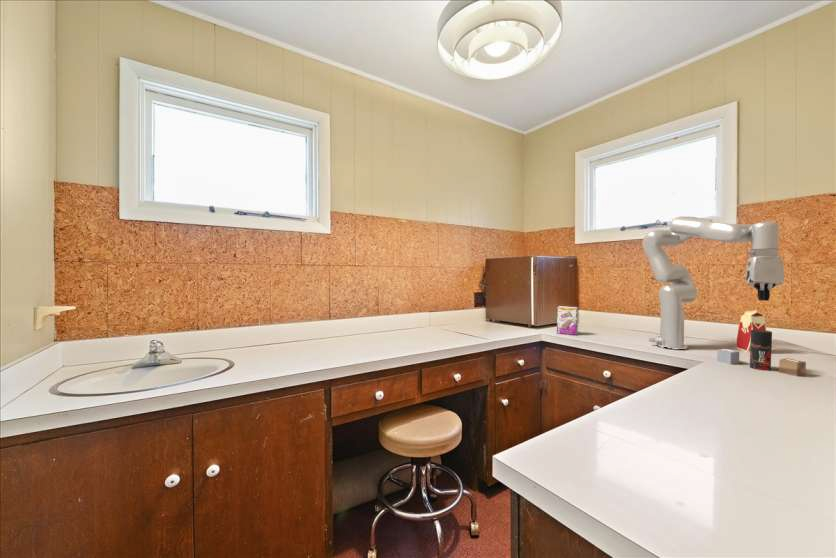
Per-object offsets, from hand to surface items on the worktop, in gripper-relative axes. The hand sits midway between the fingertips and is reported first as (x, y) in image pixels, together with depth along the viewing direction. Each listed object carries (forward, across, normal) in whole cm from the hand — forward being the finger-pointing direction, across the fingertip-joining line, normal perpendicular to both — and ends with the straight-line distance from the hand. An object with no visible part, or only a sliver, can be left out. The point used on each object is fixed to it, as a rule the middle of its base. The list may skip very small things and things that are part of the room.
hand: (763, 300), depth 133 cm
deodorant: (+28, 0, +1) cm, 28 cm away
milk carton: (+27, +15, +32) cm, 44 cm away
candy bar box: (+27, -63, +55) cm, 88 cm away
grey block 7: (+27, -7, +8) cm, 29 cm away
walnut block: (+28, +7, -4) cm, 29 cm away
